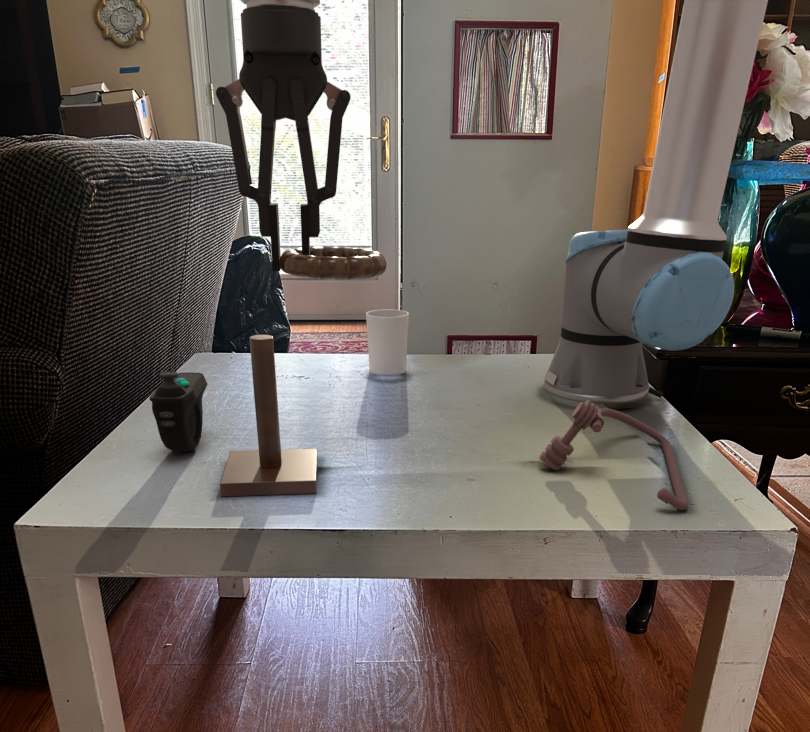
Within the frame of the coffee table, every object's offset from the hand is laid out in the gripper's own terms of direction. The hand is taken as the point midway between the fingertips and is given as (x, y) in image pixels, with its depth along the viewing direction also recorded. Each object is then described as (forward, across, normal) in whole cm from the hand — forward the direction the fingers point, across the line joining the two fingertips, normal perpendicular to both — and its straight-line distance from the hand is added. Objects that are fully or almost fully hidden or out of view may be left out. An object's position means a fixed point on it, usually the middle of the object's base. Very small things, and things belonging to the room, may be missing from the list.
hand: (291, 269), depth 84 cm
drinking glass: (+21, -13, -35) cm, 43 cm away
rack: (+21, +3, +7) cm, 23 cm away
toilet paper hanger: (+21, -35, +8) cm, 42 cm away
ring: (-1, -4, 0) cm, 5 cm away
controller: (+22, +14, -4) cm, 26 cm away
